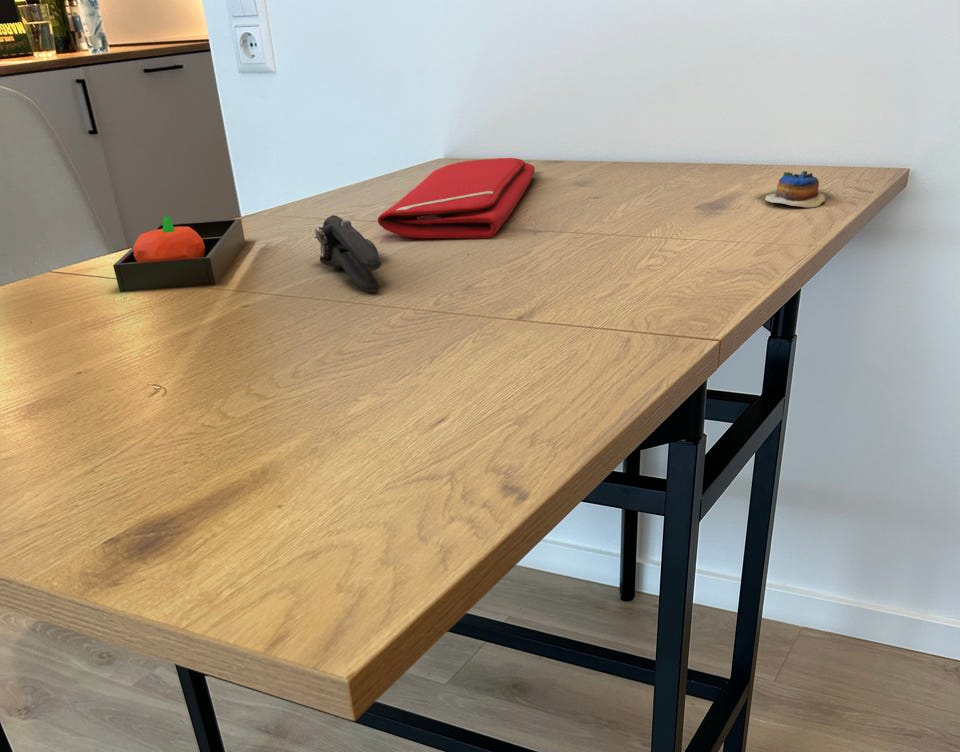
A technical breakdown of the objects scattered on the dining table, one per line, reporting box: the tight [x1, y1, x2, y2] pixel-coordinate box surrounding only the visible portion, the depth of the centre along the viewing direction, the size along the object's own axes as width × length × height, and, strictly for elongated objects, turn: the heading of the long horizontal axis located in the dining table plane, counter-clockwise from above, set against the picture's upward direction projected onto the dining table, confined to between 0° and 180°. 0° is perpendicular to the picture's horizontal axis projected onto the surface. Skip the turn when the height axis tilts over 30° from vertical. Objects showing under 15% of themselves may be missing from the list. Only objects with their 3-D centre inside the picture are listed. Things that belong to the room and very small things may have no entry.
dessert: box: [764, 170, 826, 208], centre depth 129 cm, size 8×7×6 cm
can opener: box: [313, 214, 382, 293], centre depth 111 cm, size 18×7×6 cm, turn 17°
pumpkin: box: [132, 215, 205, 262], centre depth 113 cm, size 7×8×6 cm
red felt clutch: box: [377, 157, 536, 239], centre depth 140 cm, size 16×41×4 cm, turn 171°
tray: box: [112, 218, 246, 293], centre depth 119 cm, size 11×21×4 cm, turn 2°
